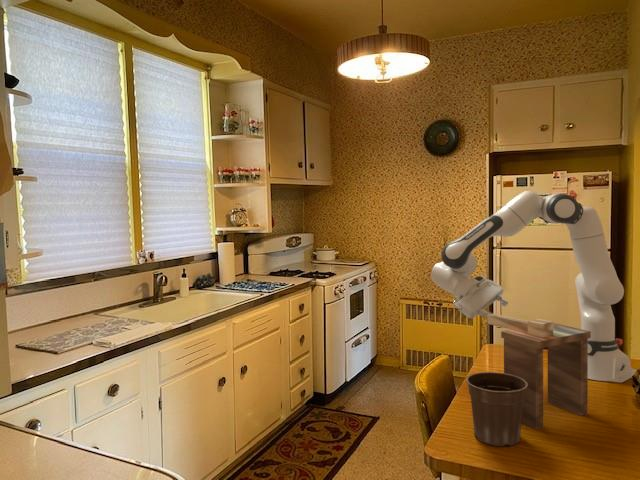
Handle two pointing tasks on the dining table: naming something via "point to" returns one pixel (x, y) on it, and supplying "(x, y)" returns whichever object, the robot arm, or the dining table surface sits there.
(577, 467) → the dining table surface
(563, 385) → the shelf
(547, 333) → the marker stick
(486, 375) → the plant pot
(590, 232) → the robot arm
